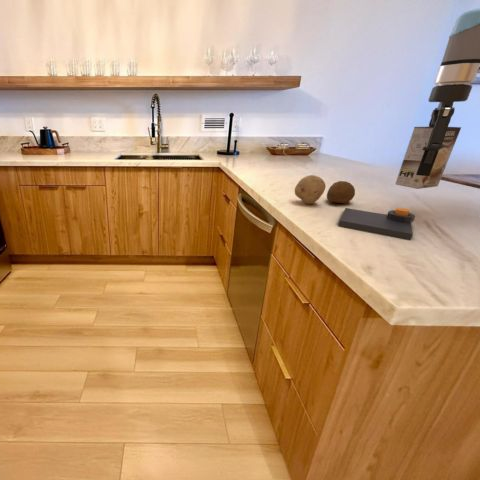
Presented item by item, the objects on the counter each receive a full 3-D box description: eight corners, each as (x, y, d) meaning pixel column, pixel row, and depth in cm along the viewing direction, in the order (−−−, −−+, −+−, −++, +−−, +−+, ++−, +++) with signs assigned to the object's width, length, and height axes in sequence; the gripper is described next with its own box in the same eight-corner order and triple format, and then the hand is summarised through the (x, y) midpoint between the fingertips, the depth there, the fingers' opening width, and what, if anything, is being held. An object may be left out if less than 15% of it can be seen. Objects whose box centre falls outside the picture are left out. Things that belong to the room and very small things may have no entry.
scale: (410, 224, 82) (414, 212, 81) (412, 241, 72) (417, 228, 70) (344, 213, 91) (347, 202, 90) (337, 226, 81) (341, 214, 79)
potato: (355, 201, 103) (361, 179, 100) (348, 209, 95) (354, 186, 91) (330, 197, 108) (335, 176, 105) (321, 204, 99) (326, 182, 96)
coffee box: (418, 189, 79) (441, 127, 73) (394, 184, 85) (413, 126, 78) (438, 186, 82) (462, 126, 76) (414, 182, 88) (433, 125, 81)
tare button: (407, 214, 81) (409, 209, 80) (408, 217, 79) (410, 212, 78) (394, 212, 82) (396, 207, 82) (394, 215, 80) (396, 209, 80)
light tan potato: (296, 207, 97) (302, 177, 93) (289, 199, 105) (294, 172, 101) (324, 208, 96) (332, 178, 92) (315, 200, 104) (321, 173, 100)
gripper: (484, 80, 63) (443, 181, 72) (464, 86, 79) (434, 167, 88) (438, 82, 67) (405, 177, 76) (429, 88, 83) (403, 165, 92)
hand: (421, 172), depth 82 cm, fingers closed on coffee box, 10 cm apart
